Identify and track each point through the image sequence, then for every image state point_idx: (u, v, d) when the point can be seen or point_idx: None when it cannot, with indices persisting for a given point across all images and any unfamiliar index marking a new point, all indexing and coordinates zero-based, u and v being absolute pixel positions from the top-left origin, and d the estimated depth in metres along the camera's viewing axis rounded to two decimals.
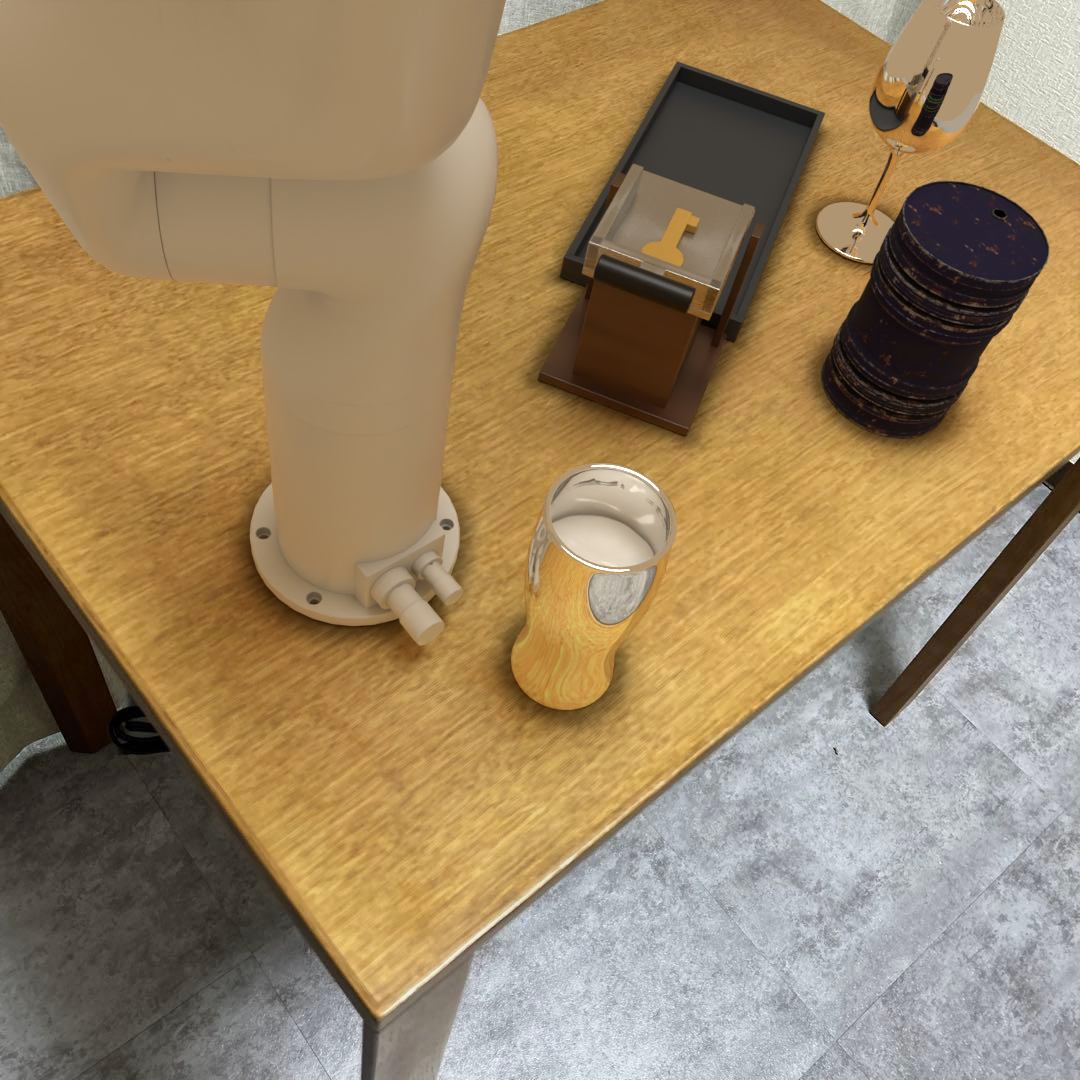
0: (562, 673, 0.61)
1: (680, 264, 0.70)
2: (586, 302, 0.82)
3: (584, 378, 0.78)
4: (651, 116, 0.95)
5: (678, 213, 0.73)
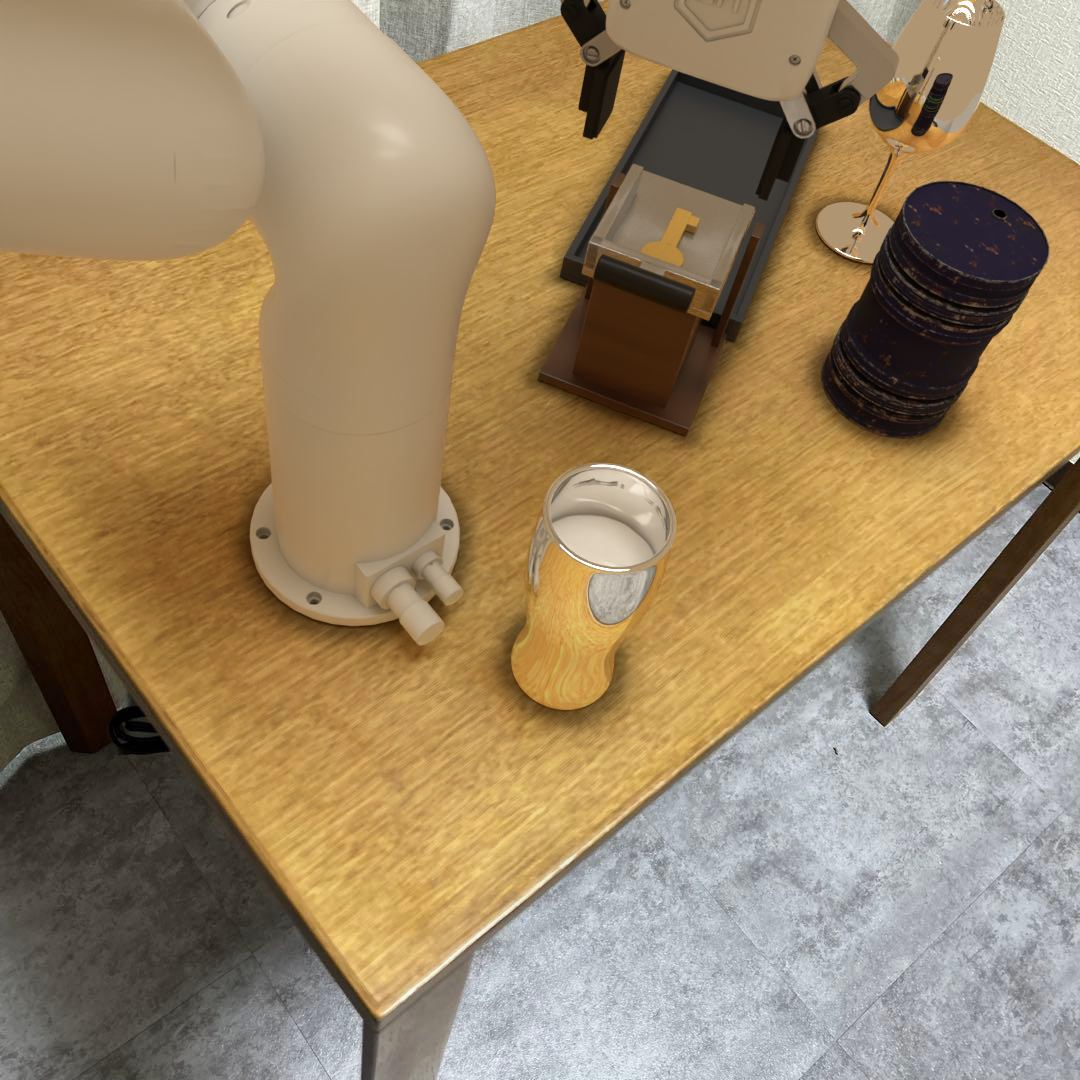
0: (562, 673, 0.61)
1: (680, 264, 0.70)
2: (586, 302, 0.82)
3: (584, 378, 0.78)
4: (651, 116, 0.95)
5: (678, 213, 0.73)
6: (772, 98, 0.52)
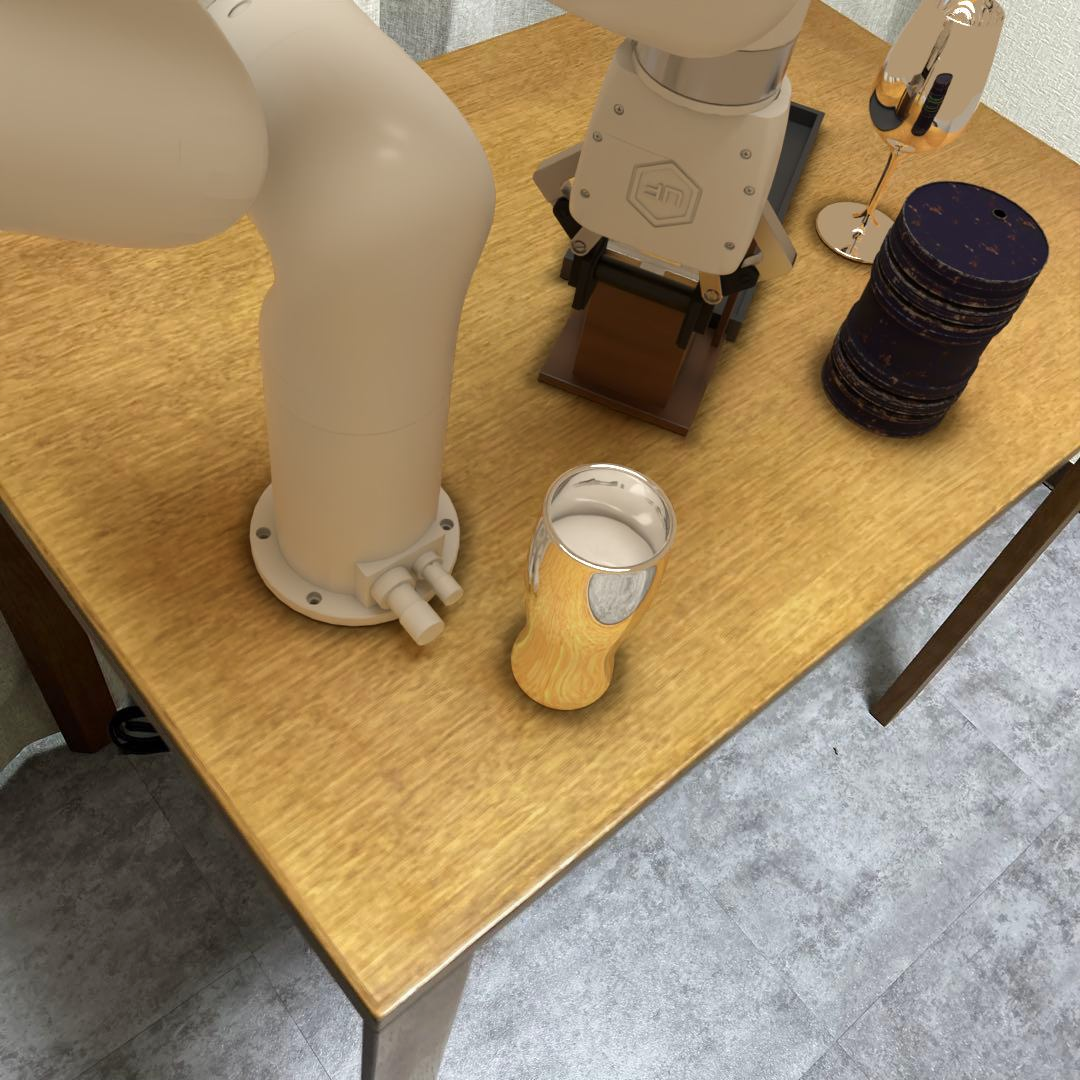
0: (562, 673, 0.61)
1: None
2: None
3: (584, 378, 0.78)
4: None
5: None
6: (711, 273, 0.60)
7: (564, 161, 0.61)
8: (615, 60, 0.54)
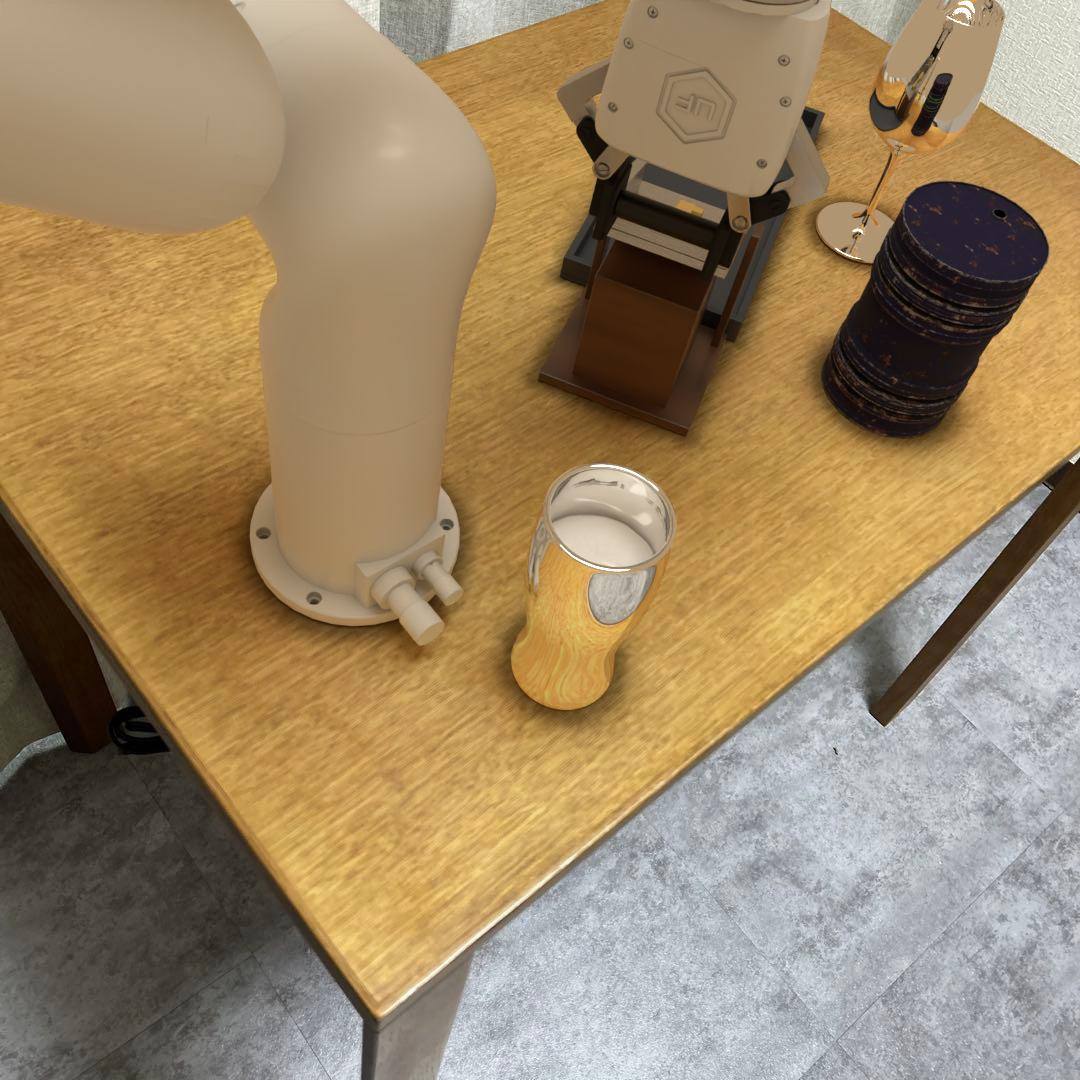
0: (562, 673, 0.61)
1: None
2: (586, 302, 0.82)
3: (584, 378, 0.78)
4: None
5: (682, 202, 0.73)
6: (741, 194, 0.58)
7: (591, 76, 0.59)
8: None
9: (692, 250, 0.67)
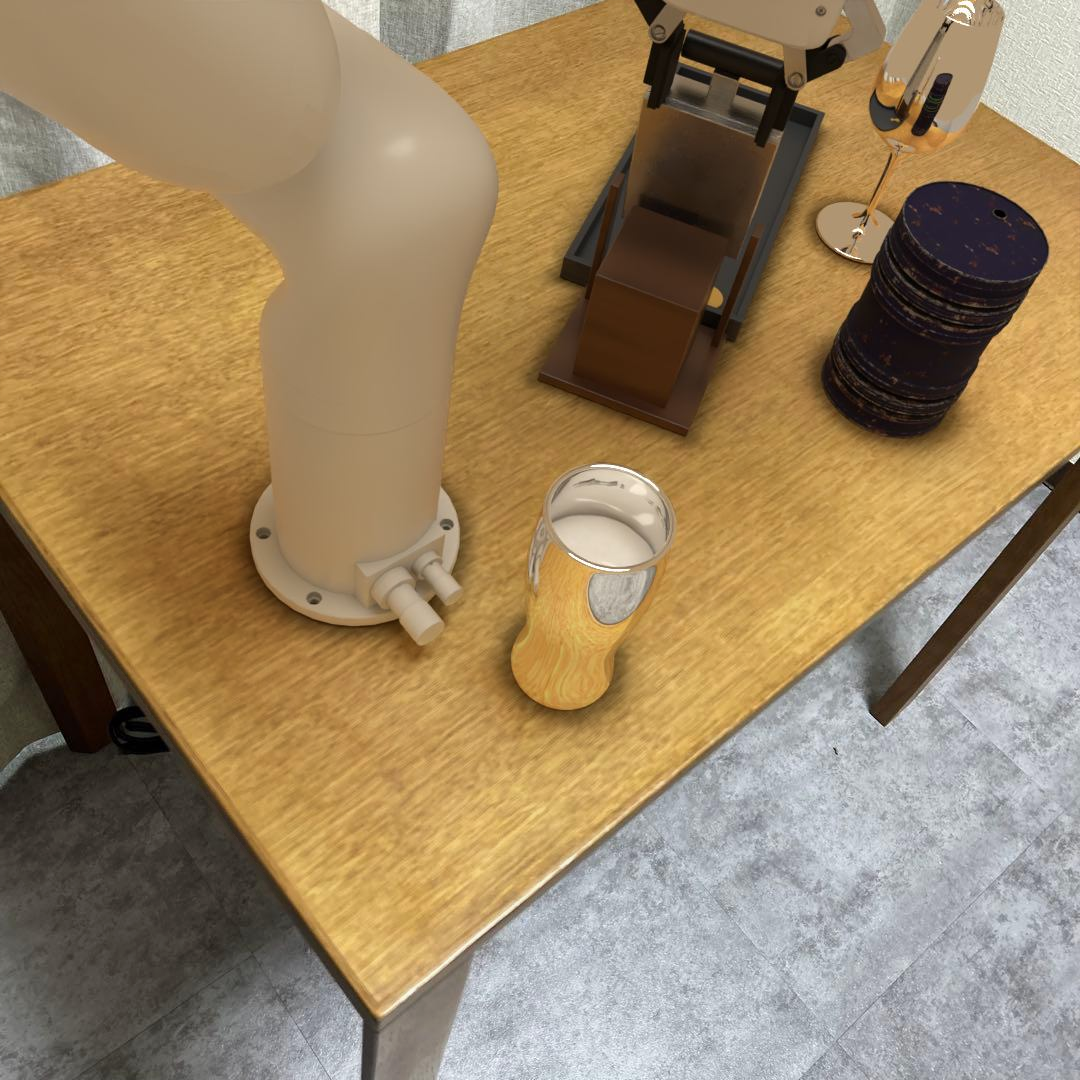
0: (562, 673, 0.61)
1: (722, 298, 0.84)
2: (586, 302, 0.82)
3: (584, 378, 0.78)
4: None
5: None
6: (800, 46, 0.59)
7: None
8: None
9: (744, 119, 0.67)
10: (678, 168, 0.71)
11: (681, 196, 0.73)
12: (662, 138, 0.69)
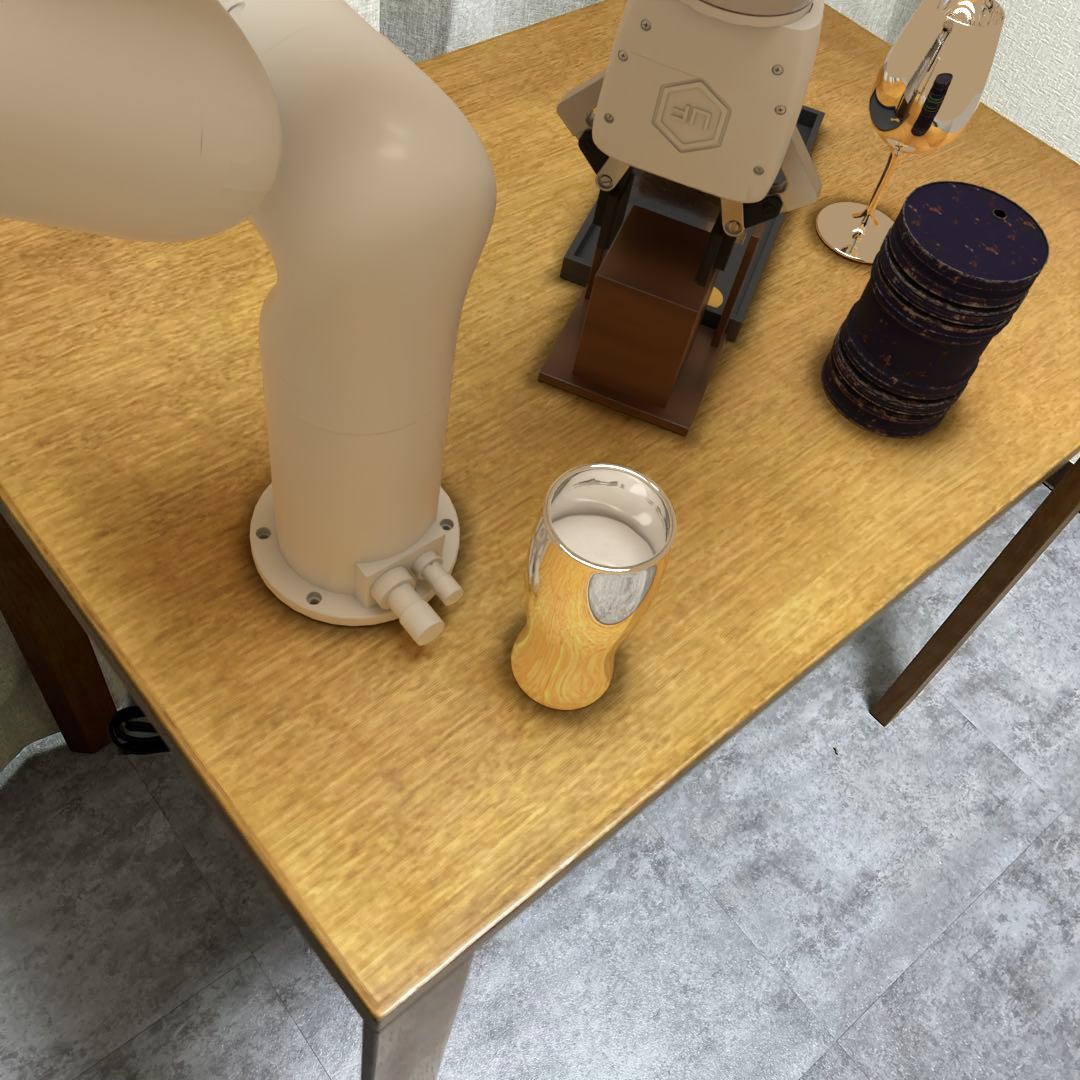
0: (562, 673, 0.61)
1: (722, 298, 0.84)
2: (586, 302, 0.82)
3: (584, 378, 0.78)
4: None
5: None
6: (739, 201, 0.59)
7: (588, 90, 0.59)
8: None
9: None
10: (667, 195, 0.71)
11: (677, 207, 0.73)
12: (645, 179, 0.69)
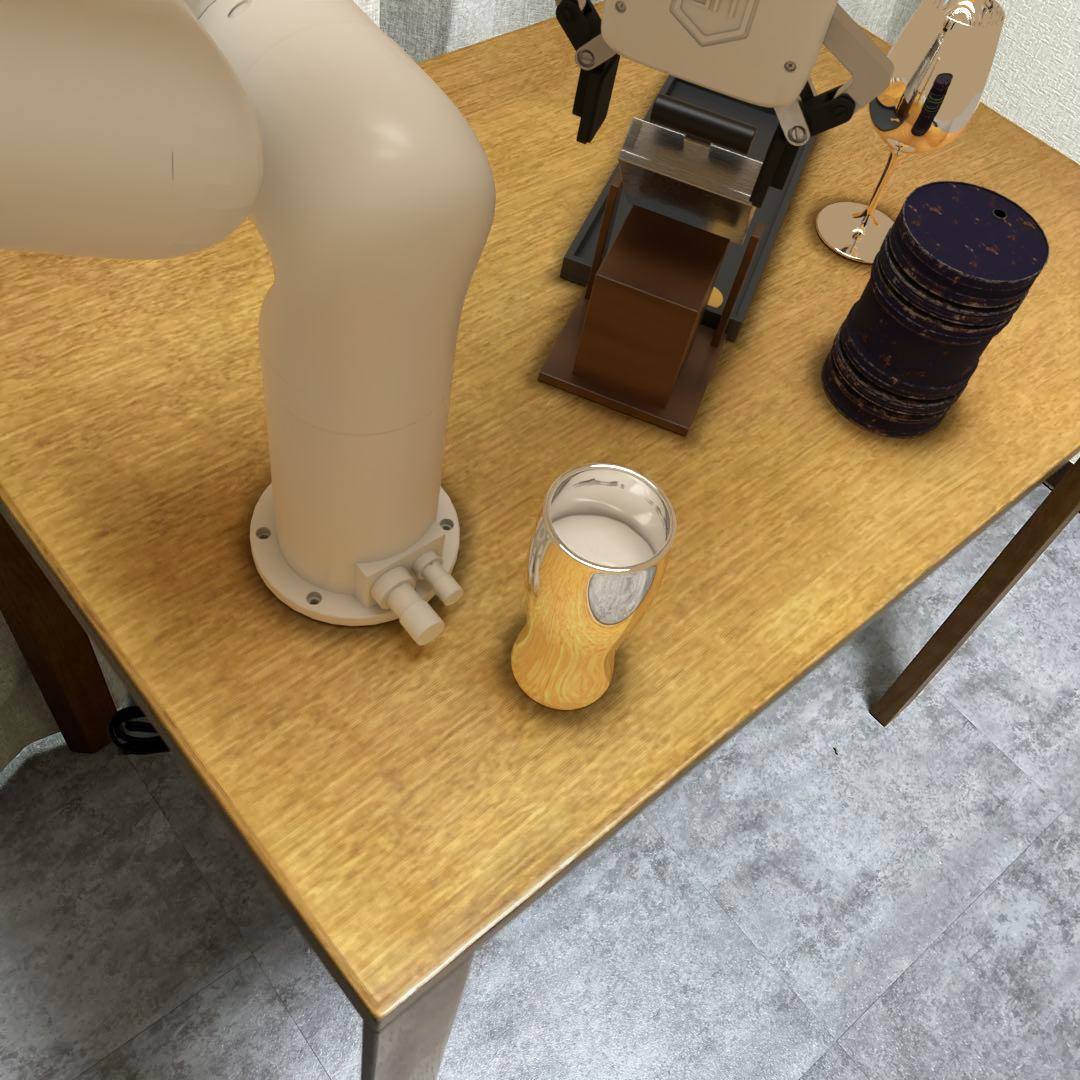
0: (562, 673, 0.61)
1: (722, 298, 0.84)
2: (586, 302, 0.82)
3: (584, 378, 0.78)
4: None
5: None
6: (767, 104, 0.52)
7: None
8: None
9: (720, 177, 0.66)
10: (667, 195, 0.71)
11: (677, 207, 0.73)
12: (645, 179, 0.69)
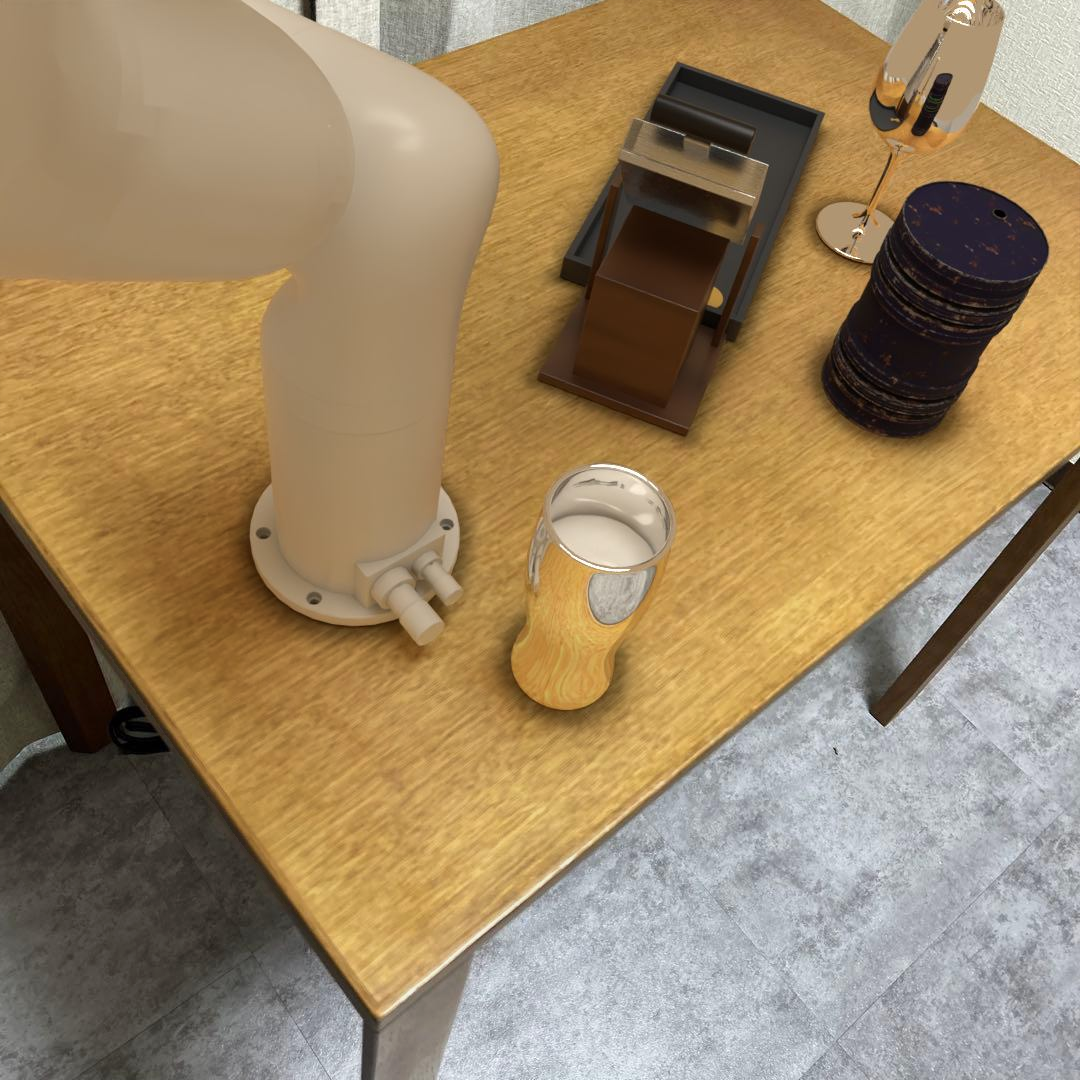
0: (562, 673, 0.61)
1: (722, 298, 0.84)
2: (586, 302, 0.82)
3: (584, 378, 0.78)
4: None
5: None
6: None
7: None
8: None
9: (720, 177, 0.66)
10: (667, 195, 0.71)
11: (677, 207, 0.73)
12: (645, 179, 0.69)
